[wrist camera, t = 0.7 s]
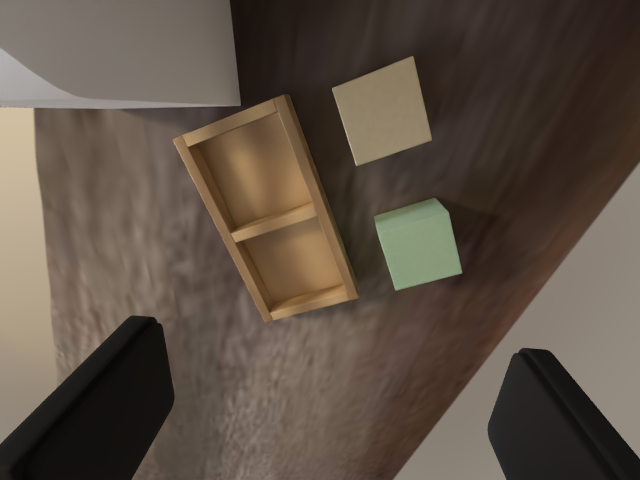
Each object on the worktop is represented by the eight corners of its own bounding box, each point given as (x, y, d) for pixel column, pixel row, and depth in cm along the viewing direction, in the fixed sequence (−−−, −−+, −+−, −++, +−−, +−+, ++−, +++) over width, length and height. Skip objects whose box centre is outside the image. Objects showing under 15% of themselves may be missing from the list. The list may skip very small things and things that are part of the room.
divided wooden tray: (289, 94, 28) (284, 93, 26) (358, 284, 35) (359, 298, 33) (185, 136, 30) (172, 139, 28) (270, 308, 37) (264, 322, 35)
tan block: (403, 62, 27) (413, 55, 23) (420, 134, 29) (432, 140, 25) (333, 90, 28) (331, 88, 24) (355, 157, 30) (356, 166, 26)
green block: (435, 197, 31) (448, 212, 27) (448, 251, 33) (462, 273, 29) (373, 216, 32) (377, 233, 28) (389, 267, 34) (395, 290, 30)
